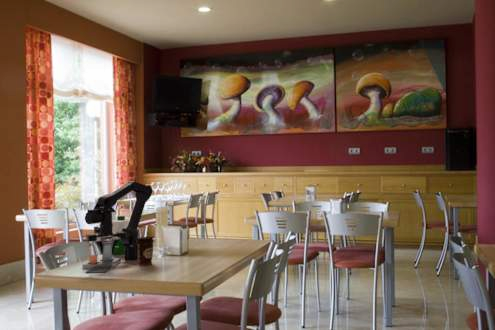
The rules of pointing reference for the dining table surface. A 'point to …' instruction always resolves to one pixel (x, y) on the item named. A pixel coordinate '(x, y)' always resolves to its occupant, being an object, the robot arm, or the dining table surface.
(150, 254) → the coffee cup
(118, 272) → the dining table surface
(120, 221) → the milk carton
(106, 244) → the cartridge
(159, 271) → the dining table surface
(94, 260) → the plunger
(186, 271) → the dining table surface
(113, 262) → the housing
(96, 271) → the mat
